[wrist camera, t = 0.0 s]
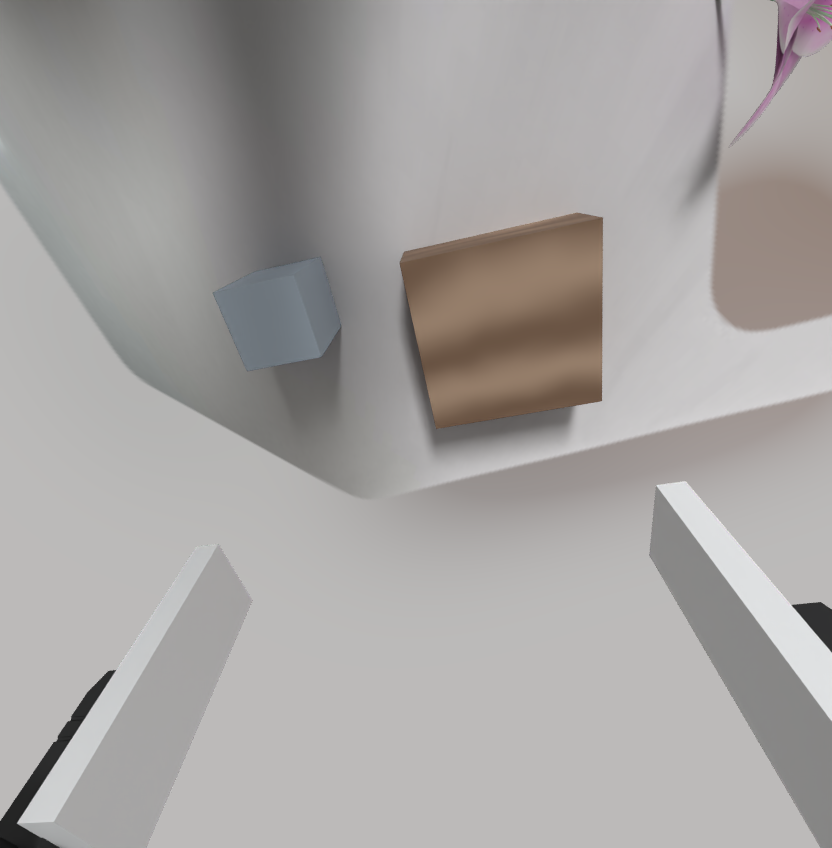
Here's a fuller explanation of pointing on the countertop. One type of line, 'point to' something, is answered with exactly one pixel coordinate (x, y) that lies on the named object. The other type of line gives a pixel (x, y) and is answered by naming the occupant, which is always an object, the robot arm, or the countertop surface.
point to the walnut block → (509, 319)
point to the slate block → (280, 314)
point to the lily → (795, 42)
